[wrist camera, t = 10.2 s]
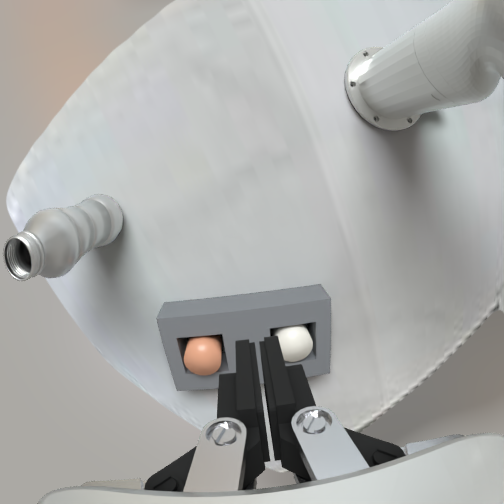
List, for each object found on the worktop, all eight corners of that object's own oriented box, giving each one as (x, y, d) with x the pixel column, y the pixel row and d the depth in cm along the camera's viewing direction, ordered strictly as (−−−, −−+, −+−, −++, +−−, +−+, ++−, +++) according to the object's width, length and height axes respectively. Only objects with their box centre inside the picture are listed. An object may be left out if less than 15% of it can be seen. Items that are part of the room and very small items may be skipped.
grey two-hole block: (320, 284, 42) (330, 298, 38) (321, 354, 46) (329, 373, 41) (164, 302, 42) (156, 318, 37) (181, 370, 45) (177, 390, 40)
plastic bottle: (126, 191, 38) (41, 214, 18) (129, 241, 39) (53, 301, 20) (85, 193, 37) (-13, 218, 18) (88, 241, 39) (0, 295, 20)
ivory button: (304, 311, 43) (312, 328, 38) (305, 339, 44) (312, 358, 39) (270, 316, 43) (275, 334, 38) (273, 344, 44) (277, 364, 39)
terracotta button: (219, 324, 42) (217, 343, 37) (224, 353, 43) (223, 373, 38) (185, 328, 42) (180, 347, 37) (192, 356, 43) (188, 376, 38)
